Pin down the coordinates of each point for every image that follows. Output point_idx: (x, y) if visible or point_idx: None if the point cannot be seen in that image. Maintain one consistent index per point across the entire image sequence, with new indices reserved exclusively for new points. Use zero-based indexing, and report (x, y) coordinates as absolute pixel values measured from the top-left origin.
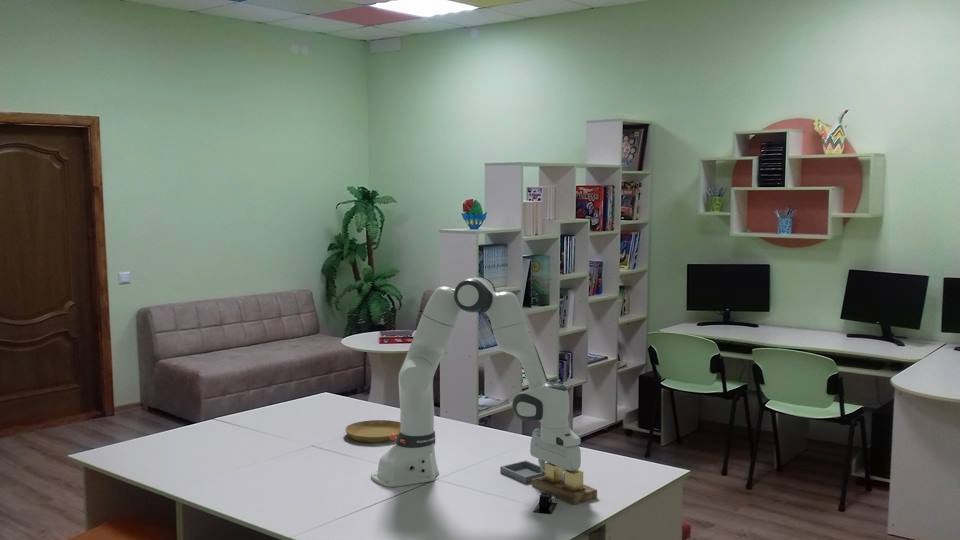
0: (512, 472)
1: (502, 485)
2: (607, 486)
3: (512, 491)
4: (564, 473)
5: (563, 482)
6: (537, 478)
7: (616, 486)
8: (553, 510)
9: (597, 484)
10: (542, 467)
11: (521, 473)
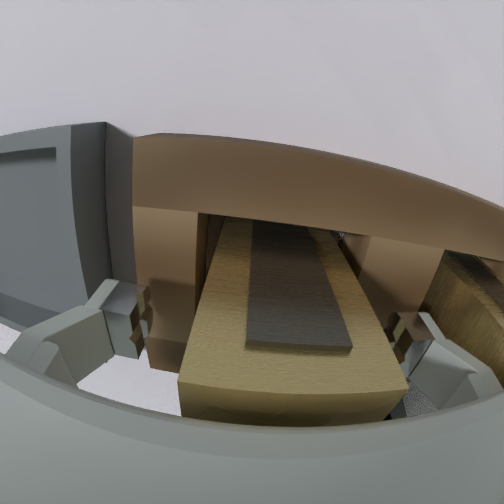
0: (21, 329)
1: (91, 377)
2: (480, 20)
3: (166, 402)
4: (438, 400)
5: (365, 282)
6: (156, 342)
7: (496, 6)
8: (404, 409)
9: (433, 8)
10: (110, 351)
11: (1, 239)
